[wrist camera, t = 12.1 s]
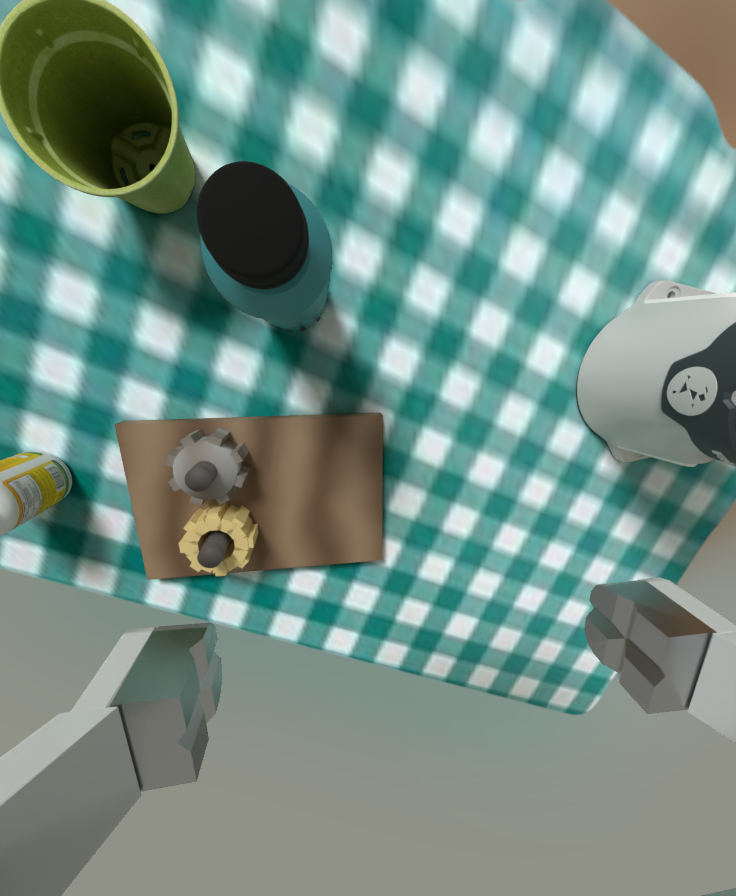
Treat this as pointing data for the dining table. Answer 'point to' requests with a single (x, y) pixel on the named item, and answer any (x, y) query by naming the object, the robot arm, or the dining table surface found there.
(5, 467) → the supplement bottle
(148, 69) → the plant pot
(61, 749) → the robot arm
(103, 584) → the dining table surface
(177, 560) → the gear board
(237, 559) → the loose gear
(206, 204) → the beverage bottle
